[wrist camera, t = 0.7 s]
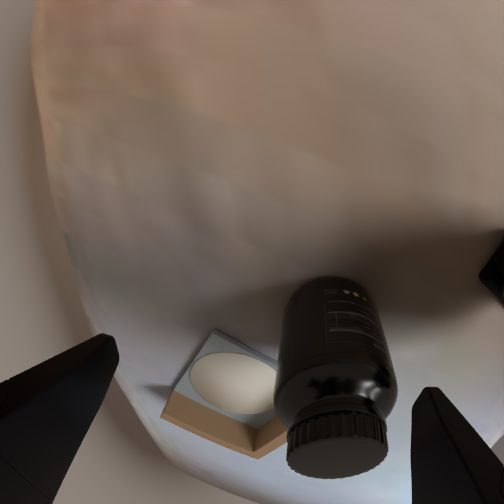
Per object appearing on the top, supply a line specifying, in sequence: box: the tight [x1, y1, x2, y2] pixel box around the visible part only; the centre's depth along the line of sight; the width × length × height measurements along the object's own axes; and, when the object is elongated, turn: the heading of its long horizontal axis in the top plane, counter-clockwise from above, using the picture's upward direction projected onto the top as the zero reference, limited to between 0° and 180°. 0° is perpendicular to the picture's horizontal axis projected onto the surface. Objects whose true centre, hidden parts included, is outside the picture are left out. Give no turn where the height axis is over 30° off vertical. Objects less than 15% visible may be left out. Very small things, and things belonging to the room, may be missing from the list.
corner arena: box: [160, 329, 287, 459], centre depth 26 cm, size 11×11×4 cm
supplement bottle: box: [273, 277, 398, 479], centre depth 17 cm, size 7×7×12 cm
